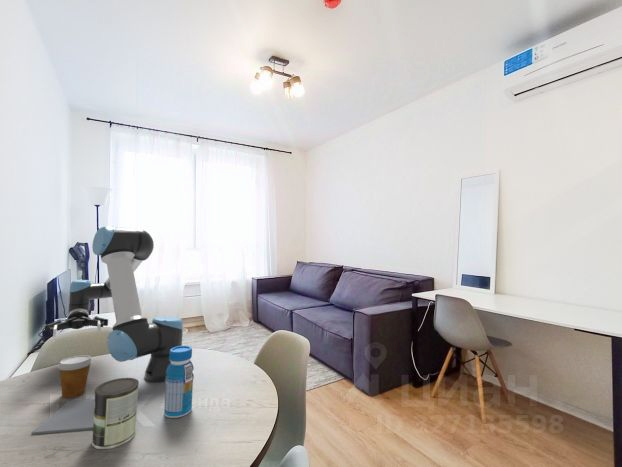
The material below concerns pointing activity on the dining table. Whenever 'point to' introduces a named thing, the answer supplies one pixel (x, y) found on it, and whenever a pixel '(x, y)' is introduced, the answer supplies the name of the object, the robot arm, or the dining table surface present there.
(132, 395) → the coffee can
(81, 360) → the disposable coffee cup
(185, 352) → the beverage bottle
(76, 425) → the mat
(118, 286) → the robot arm
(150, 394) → the dining table surface
